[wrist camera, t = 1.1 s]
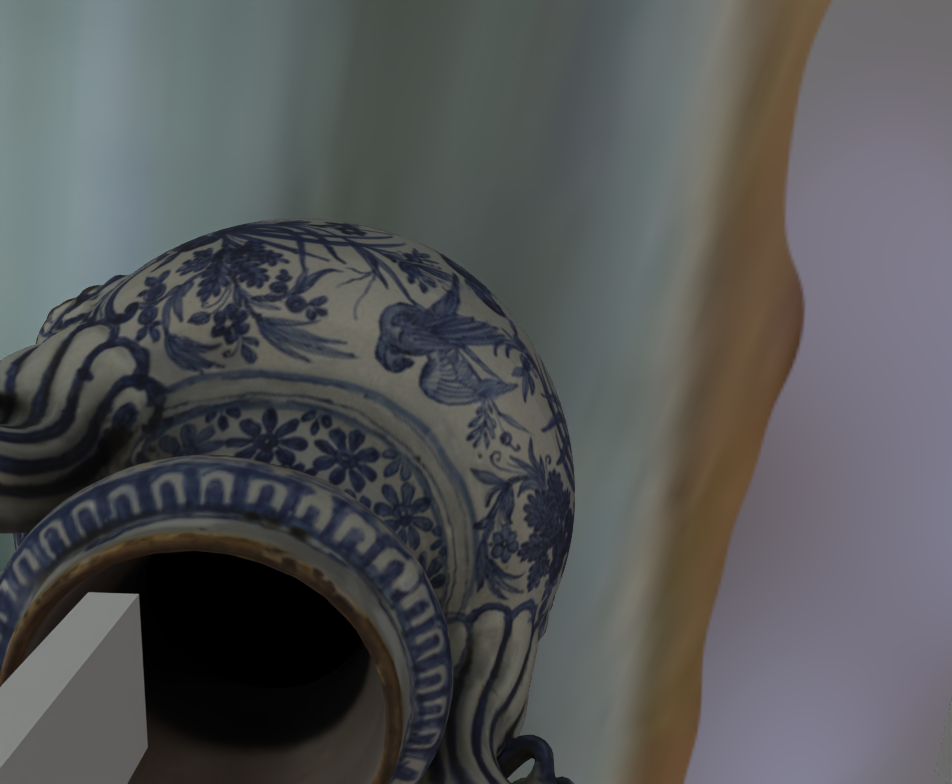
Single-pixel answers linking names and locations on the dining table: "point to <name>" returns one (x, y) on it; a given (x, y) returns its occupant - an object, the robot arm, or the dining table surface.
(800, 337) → the dining table surface
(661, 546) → the dining table surface
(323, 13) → the dining table surface
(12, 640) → the decorative vase
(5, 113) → the dining table surface
